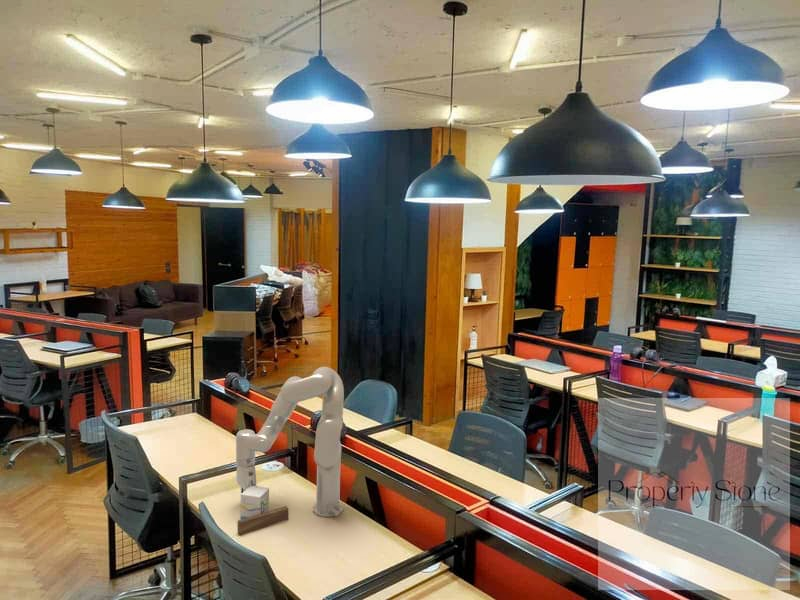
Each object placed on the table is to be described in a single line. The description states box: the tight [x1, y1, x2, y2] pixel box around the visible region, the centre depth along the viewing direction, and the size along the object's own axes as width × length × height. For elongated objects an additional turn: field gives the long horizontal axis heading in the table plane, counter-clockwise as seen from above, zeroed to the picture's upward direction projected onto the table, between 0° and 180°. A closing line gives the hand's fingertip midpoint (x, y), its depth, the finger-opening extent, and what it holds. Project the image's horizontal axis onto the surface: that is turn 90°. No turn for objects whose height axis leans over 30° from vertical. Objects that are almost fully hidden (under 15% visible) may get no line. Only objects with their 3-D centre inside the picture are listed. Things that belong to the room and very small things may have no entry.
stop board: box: [237, 505, 289, 536], centre depth 211 cm, size 2×20×5 cm, turn 128°
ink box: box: [239, 485, 270, 520], centre depth 217 cm, size 8×8×12 cm
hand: (245, 502), depth 225 cm, fingers closed
